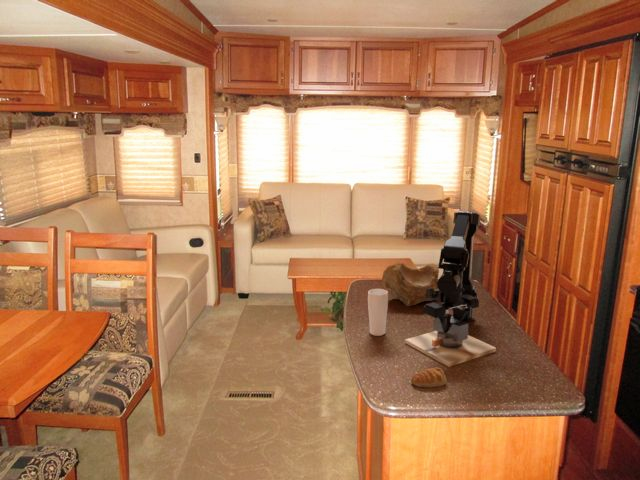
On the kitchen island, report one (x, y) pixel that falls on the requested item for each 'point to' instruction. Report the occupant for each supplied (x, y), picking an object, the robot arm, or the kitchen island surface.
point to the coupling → (450, 333)
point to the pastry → (429, 378)
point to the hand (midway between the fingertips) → (450, 331)
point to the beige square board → (450, 349)
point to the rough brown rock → (410, 282)
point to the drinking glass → (377, 311)
